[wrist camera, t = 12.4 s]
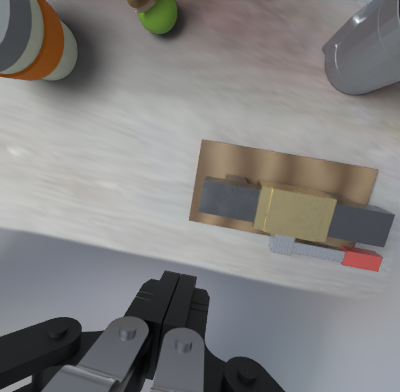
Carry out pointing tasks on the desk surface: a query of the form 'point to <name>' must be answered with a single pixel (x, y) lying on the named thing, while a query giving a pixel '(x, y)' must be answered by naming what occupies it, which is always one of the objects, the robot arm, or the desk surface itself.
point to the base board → (277, 179)
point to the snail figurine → (156, 14)
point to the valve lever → (326, 252)
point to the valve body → (295, 210)
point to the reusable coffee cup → (34, 42)
